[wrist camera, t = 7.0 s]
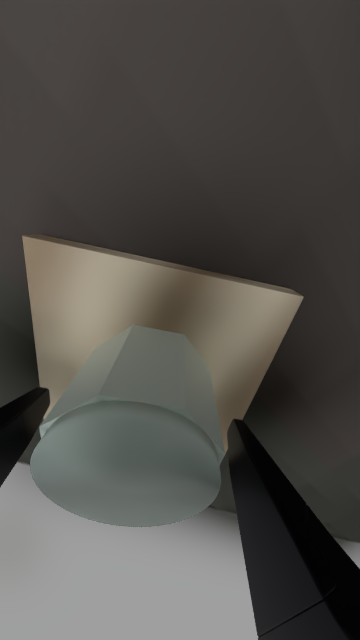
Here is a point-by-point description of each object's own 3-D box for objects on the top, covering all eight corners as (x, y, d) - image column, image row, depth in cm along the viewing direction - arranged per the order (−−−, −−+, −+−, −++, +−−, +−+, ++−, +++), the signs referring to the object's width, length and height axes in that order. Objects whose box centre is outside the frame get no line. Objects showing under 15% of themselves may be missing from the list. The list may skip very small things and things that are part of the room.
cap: (219, 340, 10) (249, 438, 5) (191, 422, 12) (195, 534, 8) (96, 317, 9) (16, 401, 5) (93, 406, 12) (38, 516, 8)
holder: (290, 288, 10) (334, 315, 7) (220, 441, 15) (229, 492, 12) (41, 234, 9) (-25, 239, 6) (55, 415, 14) (23, 465, 11)
